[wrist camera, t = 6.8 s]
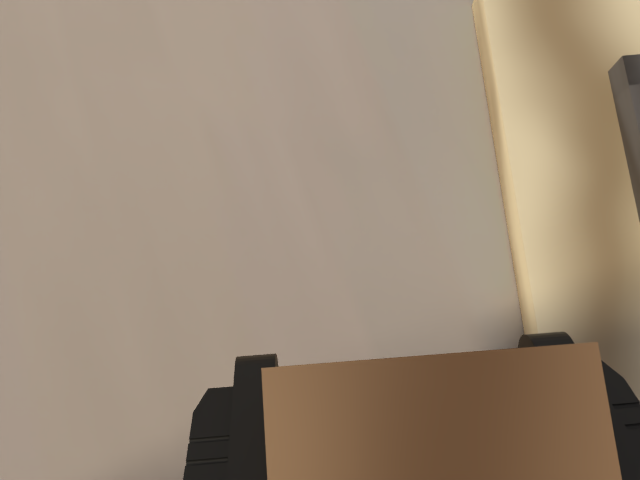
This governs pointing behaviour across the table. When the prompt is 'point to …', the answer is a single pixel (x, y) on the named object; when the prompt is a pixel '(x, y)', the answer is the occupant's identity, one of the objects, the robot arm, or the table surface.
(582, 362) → the walnut block
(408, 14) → the table surface
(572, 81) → the base board
